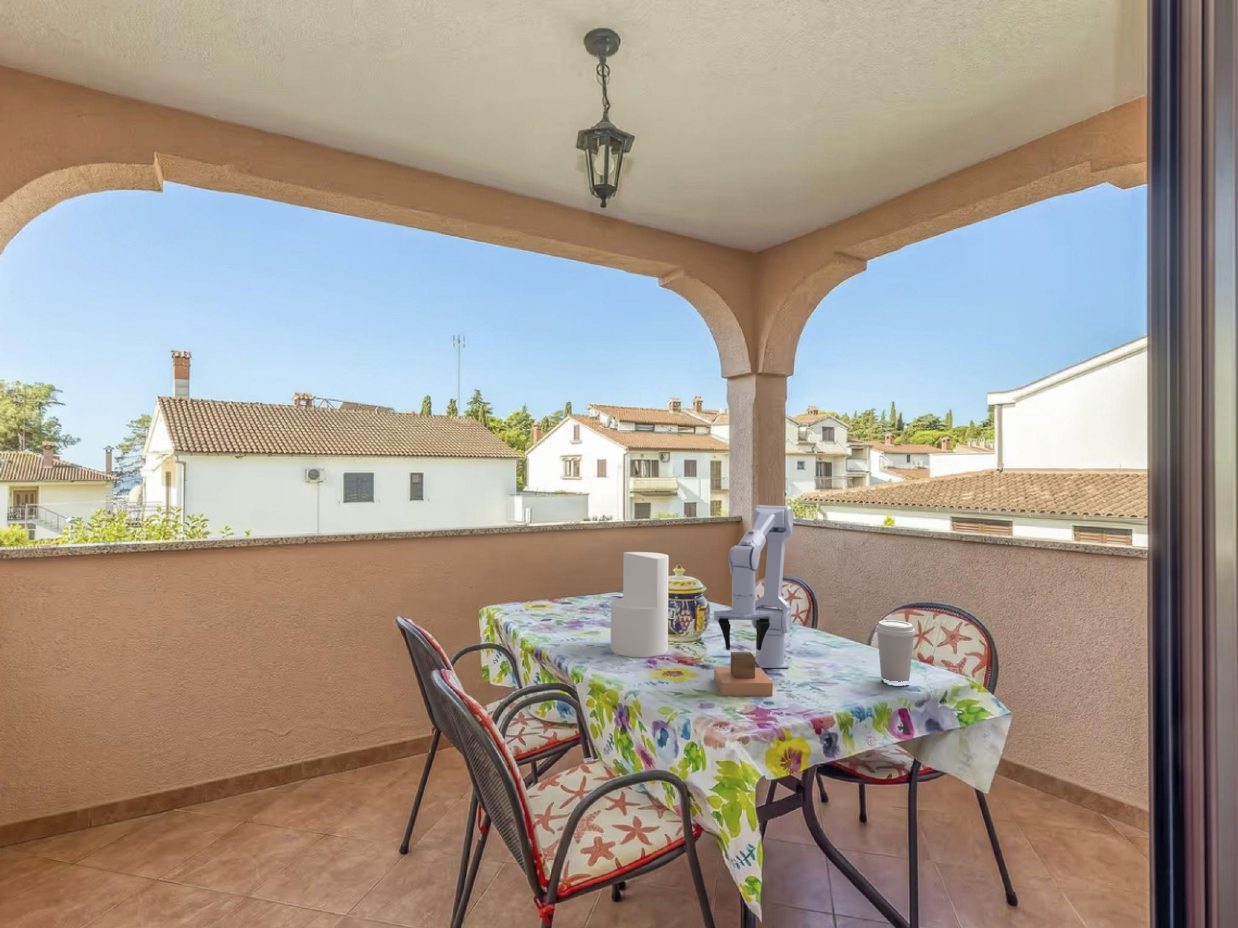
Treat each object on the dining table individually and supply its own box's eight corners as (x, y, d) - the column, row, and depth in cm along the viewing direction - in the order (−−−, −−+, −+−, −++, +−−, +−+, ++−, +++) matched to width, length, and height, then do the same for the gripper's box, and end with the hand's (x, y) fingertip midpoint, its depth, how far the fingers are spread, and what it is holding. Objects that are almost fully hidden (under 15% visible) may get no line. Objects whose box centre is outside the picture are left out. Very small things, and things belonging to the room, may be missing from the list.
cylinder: (645, 638, 205) (645, 550, 205) (679, 651, 190) (680, 556, 191) (599, 646, 195) (600, 554, 195) (632, 660, 181) (633, 561, 181)
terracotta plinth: (714, 679, 165) (714, 667, 165) (760, 679, 165) (760, 667, 165) (722, 695, 153) (722, 682, 153) (772, 695, 153) (772, 682, 153)
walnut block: (730, 671, 161) (730, 651, 161) (750, 671, 161) (750, 652, 161) (734, 678, 156) (734, 657, 156) (755, 678, 156) (755, 657, 156)
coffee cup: (868, 682, 164) (868, 623, 164) (884, 674, 170) (884, 617, 170) (906, 691, 157) (907, 630, 157) (921, 682, 163) (921, 623, 164)
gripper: (717, 597, 155) (716, 653, 155) (776, 597, 155) (776, 653, 155) (712, 591, 162) (712, 645, 162) (769, 591, 162) (769, 645, 162)
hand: (743, 648), depth 159 cm, fingers open, 7 cm apart
